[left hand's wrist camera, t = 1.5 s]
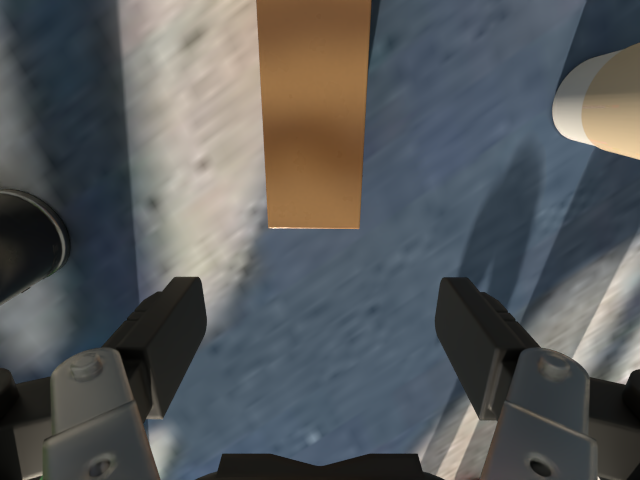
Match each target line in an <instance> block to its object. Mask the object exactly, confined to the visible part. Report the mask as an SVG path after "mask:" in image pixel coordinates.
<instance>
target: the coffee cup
mask: <svg viewBox="0 0 640 480" xmlns="http://www.w3.org/2000/svg"><path fill="white" fill-rule="evenodd" d="M552 114H553V120H554V123H555V126H556V128H557V129H558V131H559V132H560V133H561V134H562V135H563V136H565V137H567V138H569V139H571V140H575V141H579V142H583V143H586V144H590V145H594V146H597V147H598V148H600V149H603V150H606V151H609V152H613V153H617V154H621V155H624V156H628V157H632V158H635V159H639V160H640V43H637V44H635V45H632V46H630V47H628V48H626V49H623V50H619V51H616V52H612V53H608V54H605V55H601V56H597V57H594V58H591V59H588V60H586V61H584V62H583V63H581V64H580V65H578V66H577V67H575V68H574V69H573V70H572V71H571V72H570V73H569V74H568V75H567V76H566V77H565V79H564V80H563V82H562V83H561V85H560V86H559V88H558V90H557V93H556V95H555V98H554V102H553V109H552Z"/></svg>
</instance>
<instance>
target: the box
mask: <svg viewBox="0 0 640 480" xmlns="http://www.w3.org/2000/svg"><path fill="white" fill-rule="evenodd" d="M256 3H257V22H258V41H259V59H260V78H261V97H262V116H263V135H264V154H265V173H266V192H267V210H268V227H269V228H338V229H359V228H360V209H361V190H362V171H363V152H364V133H365V114H366V95H367V76H368V57H369V38H370V19H371V0H256Z"/></svg>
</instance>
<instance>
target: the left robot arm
mask: <svg viewBox="0 0 640 480" xmlns="http://www.w3.org/2000/svg"><path fill="white" fill-rule="evenodd" d="M69 253H70V239H69V235H68V232H67V230H66V227H65V226H64V224H63V222H62V220H61V219H60V218H59V216H58V215H57V214H56V213H55V212H54V211H53V210H52V209H51V208H50V207H49V206H48V205H47V204H45V203H44V202H43V201H41V200H39V199H38V198H36V197H34V196H32V195H30V194H28V193H25V192H22V191H18V190H11V189H1V190H0V306H1V305H2V304H4V303H5V302H7V301H9V300H10V299H12V298H13V297H15V296H16V295H18V294H20V293H23V292H24V291H26V290H28V289H29V288H31V286H32V285H34V284H35V283H37V282H39V281H40V280H42V279H44V278H46V277H48V276H50V275H52V274H53V273H55V272H56V271H58V270H59V269H61V268H62V267H63V266H64V264H65V263H66V261H67V259H68V257H69ZM206 326H207V316H206V309H205V302H204V295H203V289H202V283H201V280H200V278H199V277H174V278H173V279H172V280H171V282H170V283H169V284H168V285H167V286H166V288H165V289H164V290H163V291H162V292H156V293H155V294H153V295H151V296H150V297H148V298H146V299H145V300H143V301H142V302H141V304H140V305H139V306H138V307H137V308H136V309H135V312H133V313H132V314H131V315H130V316H129V317H128V318H127V321H124V323H123V324H122V325H121V326H120V327H119V328H118V329H117V330H116V331H115V333H114V334H113V335H112V336H111V337H110V338H109V339H108V340H107V341H106V343H105V344H104V345H103V346H102V347H101V348H94V349H90V350H87V351H83V352H81V353H78V354H76V355H74V356H72V357H70V358H69V359H67V360H66V361H64V362H63V363H61V364H60V365H59V366H58V367H57V368H56V369H55V370H54V372H53V373H52V375H51V377H46V378H42V379H37V380H32V381H28V382H23V383H18V384H15V382H14V379H13V377H12V375H11V372H10V371H9V370H7V369H4V368H0V480H40V478H41V477H42V475H43V480H160V477H159V473H158V470H157V467H156V464H155V461H154V458H153V454H152V451H151V448H150V445H149V442H148V439H147V435H146V432H145V429H144V426H143V423H144V422H145V420H146V419H163V417H164V415H165V413H166V411H167V409H168V407H169V405H170V403H171V401H172V399H173V397H174V395H175V393H176V391H177V389H178V387H179V385H180V383H181V381H182V379H183V377H184V375H185V373H186V371H187V369H188V367H189V365H190V363H191V361H192V359H193V357H194V355H195V353H196V351H197V349H198V347H199V345H200V343H201V341H202V339H203V337H204V335H205V332H206ZM435 329H436V333H437V336H438V338H439V340H440V342H441V344H442V346H443V348H444V350H445V352H446V354H447V356H448V358H449V360H450V362H451V364H452V366H453V368H454V370H455V372H456V374H457V376H458V378H459V380H460V382H461V384H462V386H463V388H464V390H465V392H466V394H467V396H468V398H469V400H470V402H471V404H472V406H473V408H474V410H475V412H476V414H477V416H478V418H479V420H497V421H498V423H497V426H496V429H495V432H494V435H493V439H492V442H491V445H490V448H489V451H488V454H487V458H486V461H485V464H484V467H483V470H482V473H481V477H480V480H597V476H598V477H599V478H600V480H640V369H638V370H635V371H633V372H632V373H631V374H630V377H629V379H628V381H627V383H626V385H624V384H619V383H615V382H610V381H605V380H601V379H596V378H591V377H589V375H588V373H587V372H586V370H585V369H584V368H583V367H582V366H581V365H580V364H579V363H577V362H576V361H574V360H573V359H571V358H570V357H568V356H566V355H564V354H562V353H559V352H557V351H553V350H550V349H546V348H541V347H540V346H539V345H538V344H537V343H536V342H535V340H534V339H533V338H532V337H531V336H530V335H529V334H528V333H527V332H526V331H525V329H524V328H523V327H522V326H521V325H520V324H519V323H518V322H516V321H515V318H514V317H513V316H512V315H511V314H510V313H508V311H507V310H506V308H505V307H504V306H503V305H502V304H501V303H500V302H499V301H498V300H496V299H495V298H493V297H491V296H490V295H488V294H487V293H485V292H479V290H478V289H477V288H476V287H475V286H474V284H473V283H472V282H471V281H470V280H469V279H468V278H466V277H444V278H442V280H441V282H440V288H439V294H438V301H437V308H436V315H435ZM196 480H444V479H442V478H440V477H438V476H435V475H432V474H430V473H426V472H423V471H422V468H421V464H420V461H419V457H418V454H367V455H363V456H359V457H355V458H352V459H348V460H344V461H340V462H337V463H333V464H329V465H325V466H315V465H311V464H307V463H303V462H300V461H296V460H292V459H288V458H285V457H281V456H277V455H273V454H222V457H221V461H220V464H219V468H218V471H217V472H214V473H210V474H208V475H205V476H202V477H200V478H198V479H196Z"/></svg>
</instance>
